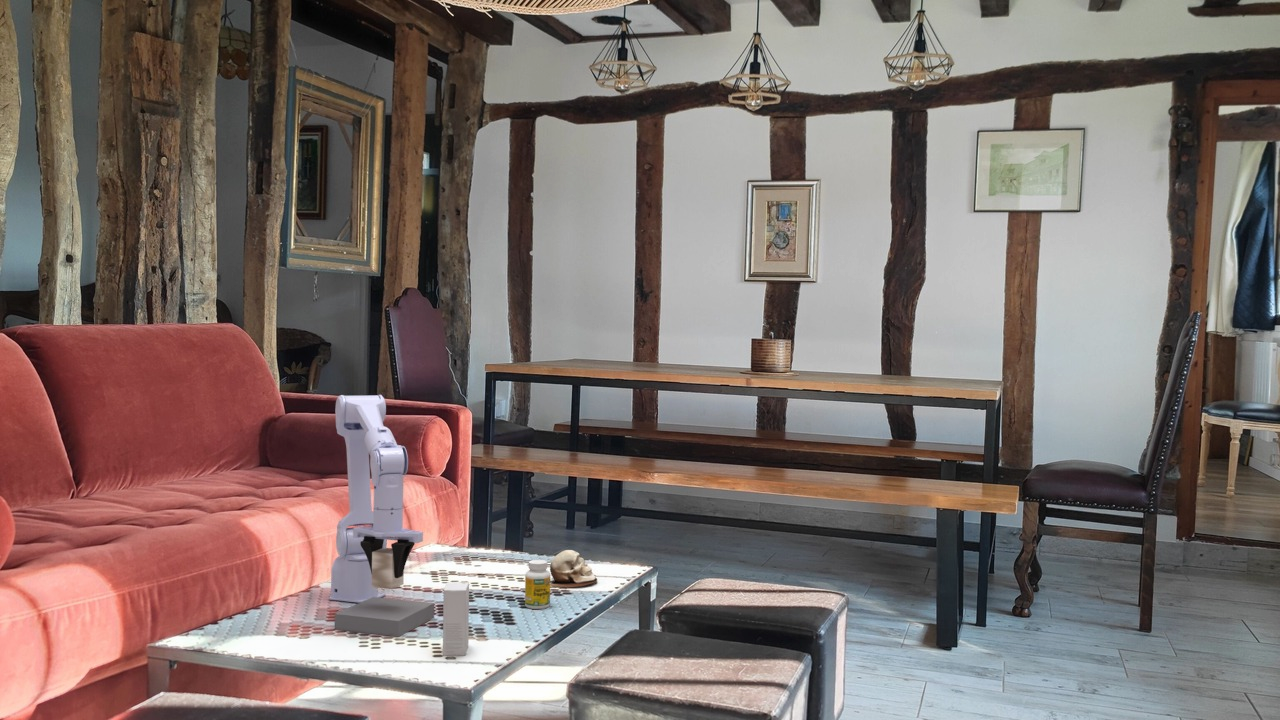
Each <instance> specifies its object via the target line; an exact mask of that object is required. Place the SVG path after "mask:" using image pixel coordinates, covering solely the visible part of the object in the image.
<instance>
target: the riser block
mask: <svg viewBox="0 0 1280 720" xmlns="http://www.w3.org/2000/svg"><path fill="white" fill-rule="evenodd" d="M434 618H435V603H434V602H428V601H427V602H426V601H415V600H407V599H399V598H398V599H397V598H389V597H372V598H370V599H367V600H365V601H363V602H360V603H356V604H354V605H352V606H349V607H347V608H345V609H343V610H341V611H338V612H336V613H334V630H337V631H338V630H339V631H346V632H347V631H348V632H356V633H364V634H373V635H382V636H390V637H396V638H397V637H400V636H403V635H404V634H406V633H409V632H410V631H412V630H414V629H416V628H417V627H419V626H421V625H423V624H425V623H427V622H429V621H430V620H433V619H434Z"/></svg>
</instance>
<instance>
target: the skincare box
mask: <svg viewBox="0 0 1280 720" xmlns="http://www.w3.org/2000/svg"><path fill="white" fill-rule="evenodd" d="M442 599H443V600H442V601H443V609H442V610H443V611H442V613H443V615H442V621H443V623H442V624H443V625H442V656H447V657H448V656H450V657H451V656H458V657H459V656H462V657H463V656H466V655H467V653H468V652H467V651H468V648H469V637H470V636H469V634H470V633H469V629H470V628H469V623H470V622H469V621H470V619H469V618H470V617H469V616H470V615H469V613H470V610H469V608H470V582H469V581H467V582H466V581H463V582H461V581H449V582H448V581H447V582H446V583H445V587H444V589H443V598H442Z"/></svg>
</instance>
